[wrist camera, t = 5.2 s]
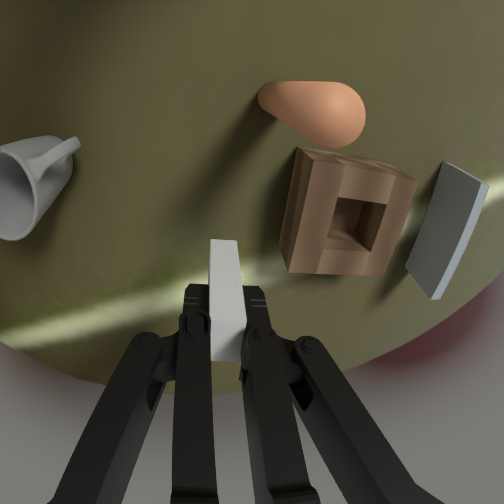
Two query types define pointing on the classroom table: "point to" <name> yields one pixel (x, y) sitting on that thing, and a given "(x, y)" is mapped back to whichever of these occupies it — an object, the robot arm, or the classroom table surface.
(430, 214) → the base
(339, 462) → the robot arm
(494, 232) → the classroom table surface
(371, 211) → the block
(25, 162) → the cup
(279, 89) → the dowel
